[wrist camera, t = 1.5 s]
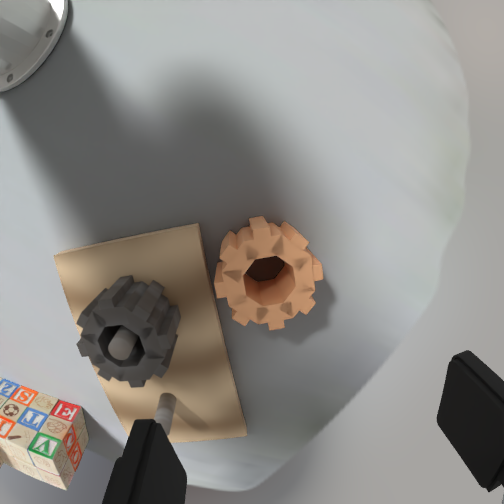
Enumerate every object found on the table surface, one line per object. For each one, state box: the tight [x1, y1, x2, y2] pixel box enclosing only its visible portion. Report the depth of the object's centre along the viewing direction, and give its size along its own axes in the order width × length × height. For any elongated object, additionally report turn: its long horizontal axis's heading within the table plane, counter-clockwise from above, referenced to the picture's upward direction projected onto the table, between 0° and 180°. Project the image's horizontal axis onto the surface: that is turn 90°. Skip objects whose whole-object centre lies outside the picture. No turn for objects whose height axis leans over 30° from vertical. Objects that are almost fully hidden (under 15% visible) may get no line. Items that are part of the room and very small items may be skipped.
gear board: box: [54, 223, 247, 443], centre depth 24 cm, size 22×13×7 cm, turn 9°
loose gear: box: [214, 216, 323, 331], centre depth 24 cm, size 7×7×5 cm
